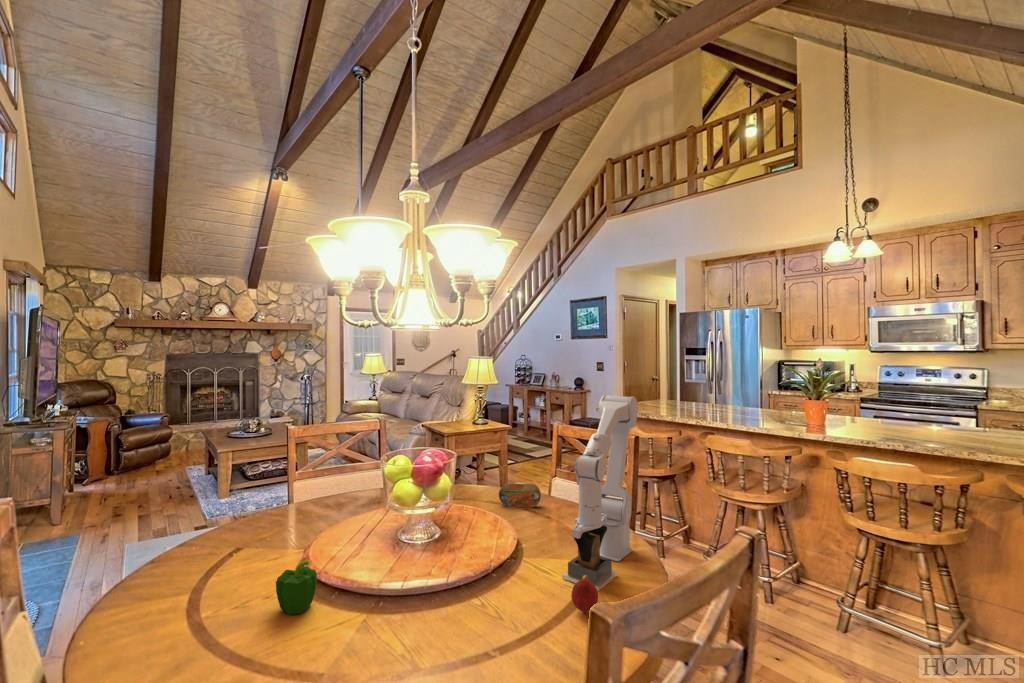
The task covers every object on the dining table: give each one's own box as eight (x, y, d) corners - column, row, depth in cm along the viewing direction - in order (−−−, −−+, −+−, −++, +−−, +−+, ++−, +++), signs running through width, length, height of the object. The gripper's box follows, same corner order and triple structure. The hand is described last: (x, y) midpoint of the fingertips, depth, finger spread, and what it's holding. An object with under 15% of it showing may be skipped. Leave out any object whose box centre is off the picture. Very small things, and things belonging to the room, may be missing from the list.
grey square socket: (582, 564, 132) (582, 549, 132) (617, 575, 125) (617, 559, 125) (562, 578, 124) (562, 562, 124) (598, 591, 118) (598, 574, 118)
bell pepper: (276, 623, 104) (276, 575, 104) (275, 604, 111) (275, 560, 111) (319, 613, 108) (319, 567, 108) (315, 595, 115) (315, 553, 115)
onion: (597, 621, 105) (597, 583, 105) (570, 618, 106) (570, 581, 106) (598, 607, 111) (598, 571, 111) (572, 604, 112) (572, 568, 112)
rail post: (585, 562, 128) (585, 531, 128) (599, 567, 125) (599, 535, 125) (578, 568, 124) (577, 536, 124) (592, 572, 122) (592, 540, 122)
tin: (498, 506, 178) (498, 482, 178) (500, 503, 181) (500, 480, 181) (540, 508, 175) (540, 485, 175) (541, 505, 178) (541, 482, 178)
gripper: (590, 493, 133) (589, 544, 133) (561, 508, 121) (561, 563, 121) (614, 498, 128) (614, 551, 128) (586, 514, 117) (586, 571, 117)
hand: (590, 557), depth 125 cm, fingers closed on rail post, 4 cm apart
